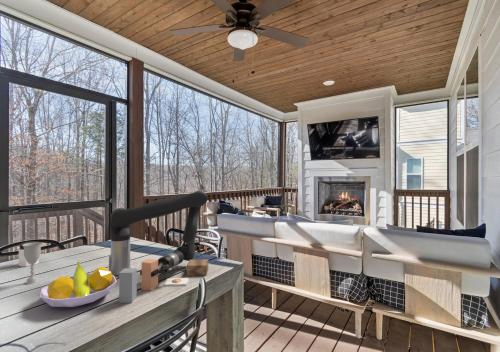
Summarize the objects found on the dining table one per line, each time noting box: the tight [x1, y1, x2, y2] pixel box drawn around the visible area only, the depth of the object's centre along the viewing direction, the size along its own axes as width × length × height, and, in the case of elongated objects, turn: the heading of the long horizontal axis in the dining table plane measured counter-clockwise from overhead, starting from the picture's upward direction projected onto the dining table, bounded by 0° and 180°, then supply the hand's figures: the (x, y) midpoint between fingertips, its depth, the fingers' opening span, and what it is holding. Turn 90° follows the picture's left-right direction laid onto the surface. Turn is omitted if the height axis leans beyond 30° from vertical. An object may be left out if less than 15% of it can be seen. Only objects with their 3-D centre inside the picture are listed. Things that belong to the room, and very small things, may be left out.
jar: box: [18, 240, 40, 268], centre depth 154 cm, size 9×8×12 cm
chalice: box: [22, 241, 43, 285], centre depth 128 cm, size 7×7×18 cm
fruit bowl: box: [39, 261, 118, 308], centre depth 112 cm, size 28×27×11 cm
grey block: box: [118, 267, 138, 304], centre depth 110 cm, size 5×5×12 cm
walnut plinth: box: [186, 258, 209, 277], centre depth 142 cm, size 10×10×5 cm
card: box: [163, 277, 190, 287], centre depth 128 cm, size 10×7×1 cm
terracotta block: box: [140, 258, 159, 291], centre depth 122 cm, size 5×5×12 cm
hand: (146, 274), depth 120 cm, fingers closed on terracotta block, 5 cm apart
